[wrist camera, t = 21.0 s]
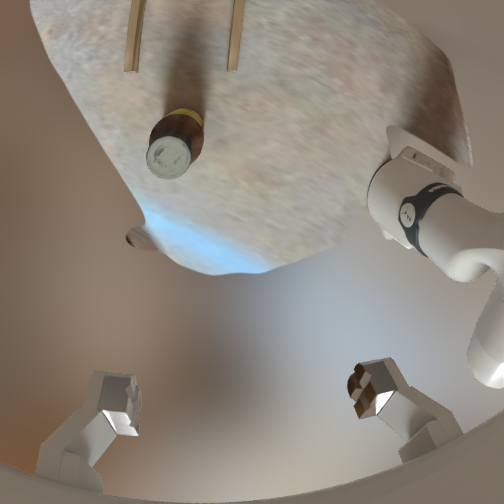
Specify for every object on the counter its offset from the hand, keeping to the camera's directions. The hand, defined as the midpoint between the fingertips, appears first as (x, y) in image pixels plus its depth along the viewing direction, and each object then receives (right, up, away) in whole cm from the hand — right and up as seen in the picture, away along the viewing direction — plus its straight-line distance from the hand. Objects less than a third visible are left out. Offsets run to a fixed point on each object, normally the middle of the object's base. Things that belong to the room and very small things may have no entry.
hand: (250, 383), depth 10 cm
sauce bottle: (-10, +23, +31) cm, 40 cm away
